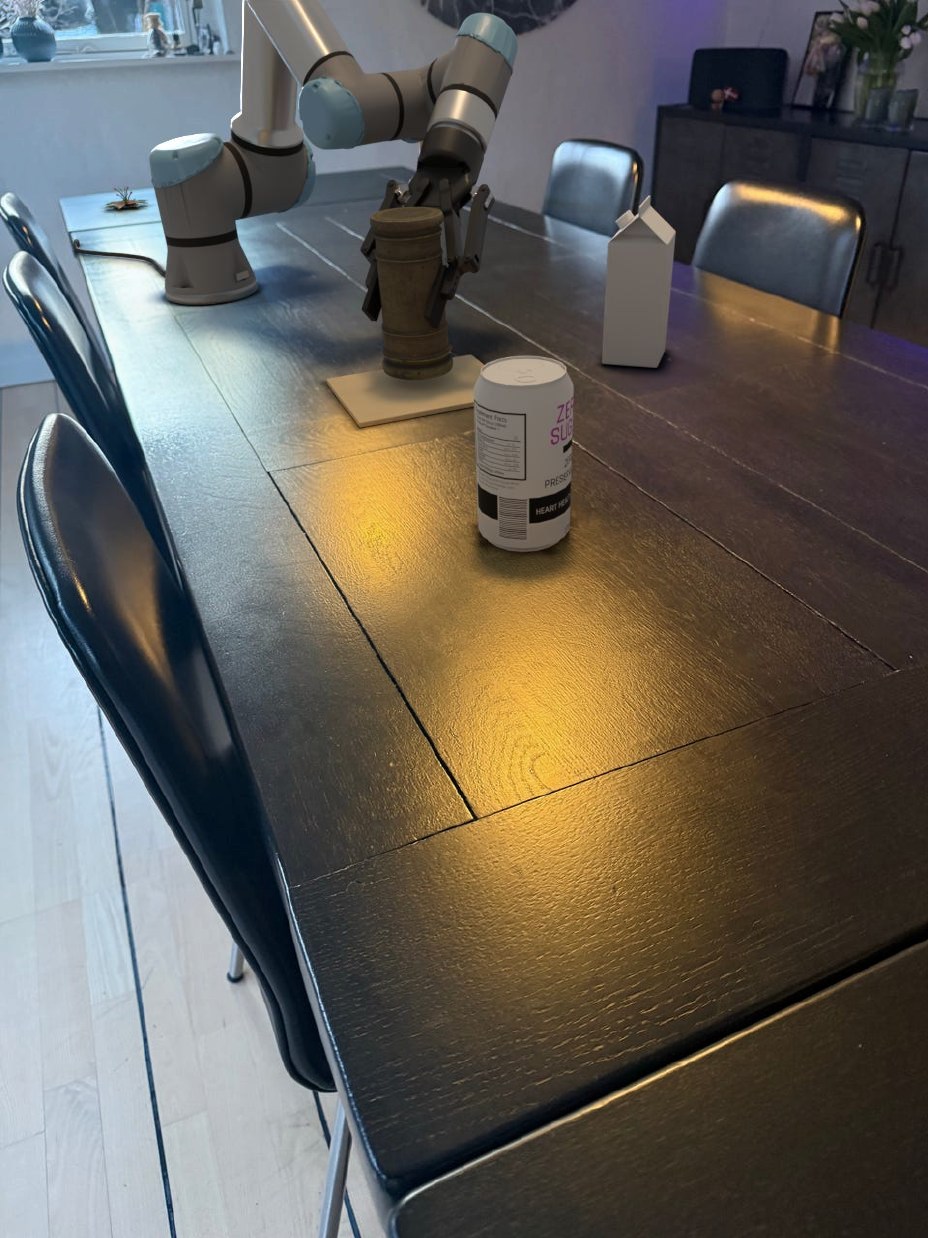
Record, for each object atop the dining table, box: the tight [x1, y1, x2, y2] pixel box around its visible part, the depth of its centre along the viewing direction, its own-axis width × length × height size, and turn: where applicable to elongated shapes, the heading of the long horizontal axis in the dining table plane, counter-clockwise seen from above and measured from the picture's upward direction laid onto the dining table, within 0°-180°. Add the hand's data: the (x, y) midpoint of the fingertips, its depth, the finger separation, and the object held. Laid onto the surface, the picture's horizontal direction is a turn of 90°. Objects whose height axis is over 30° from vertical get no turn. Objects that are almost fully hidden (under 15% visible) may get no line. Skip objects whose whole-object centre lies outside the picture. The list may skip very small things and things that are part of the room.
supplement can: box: [473, 355, 575, 553], centre depth 77 cm, size 8×8×15 cm
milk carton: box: [601, 195, 677, 369], centre depth 112 cm, size 7×7×19 cm
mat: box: [325, 354, 485, 429], centre depth 111 cm, size 16×20×1 cm
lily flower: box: [102, 186, 148, 210], centre depth 222 cm, size 12×12×5 cm
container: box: [369, 206, 454, 380], centre depth 107 cm, size 9×9×18 cm
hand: (399, 318), depth 105 cm, fingers closed on container, 8 cm apart
